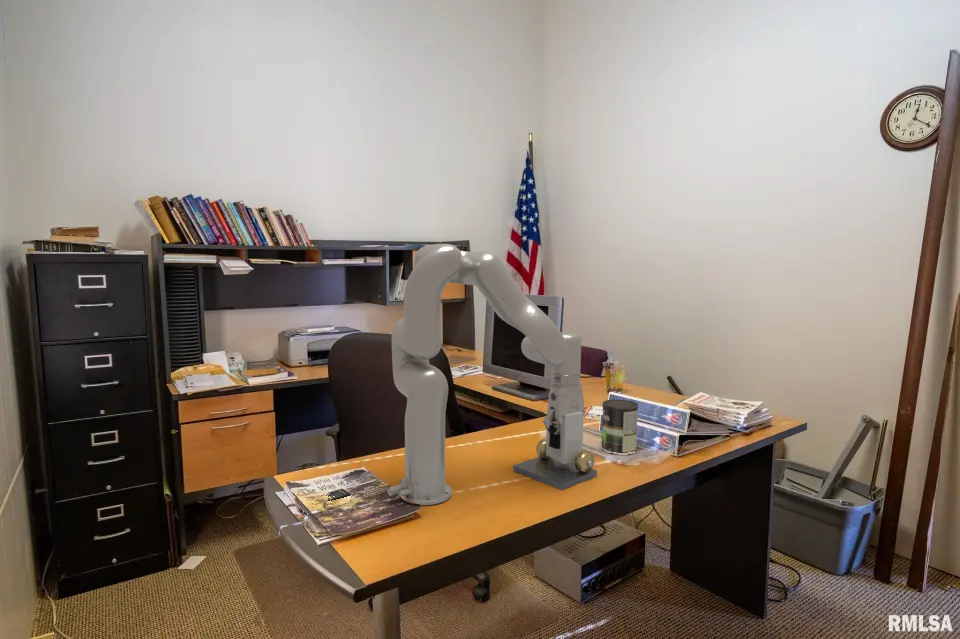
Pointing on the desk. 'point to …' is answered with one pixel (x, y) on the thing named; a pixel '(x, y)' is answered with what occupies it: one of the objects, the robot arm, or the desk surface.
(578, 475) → the grey brass knob stand
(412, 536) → the desk surface
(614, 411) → the coffee can
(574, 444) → the small box
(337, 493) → the multiport hub
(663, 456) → the desk surface
